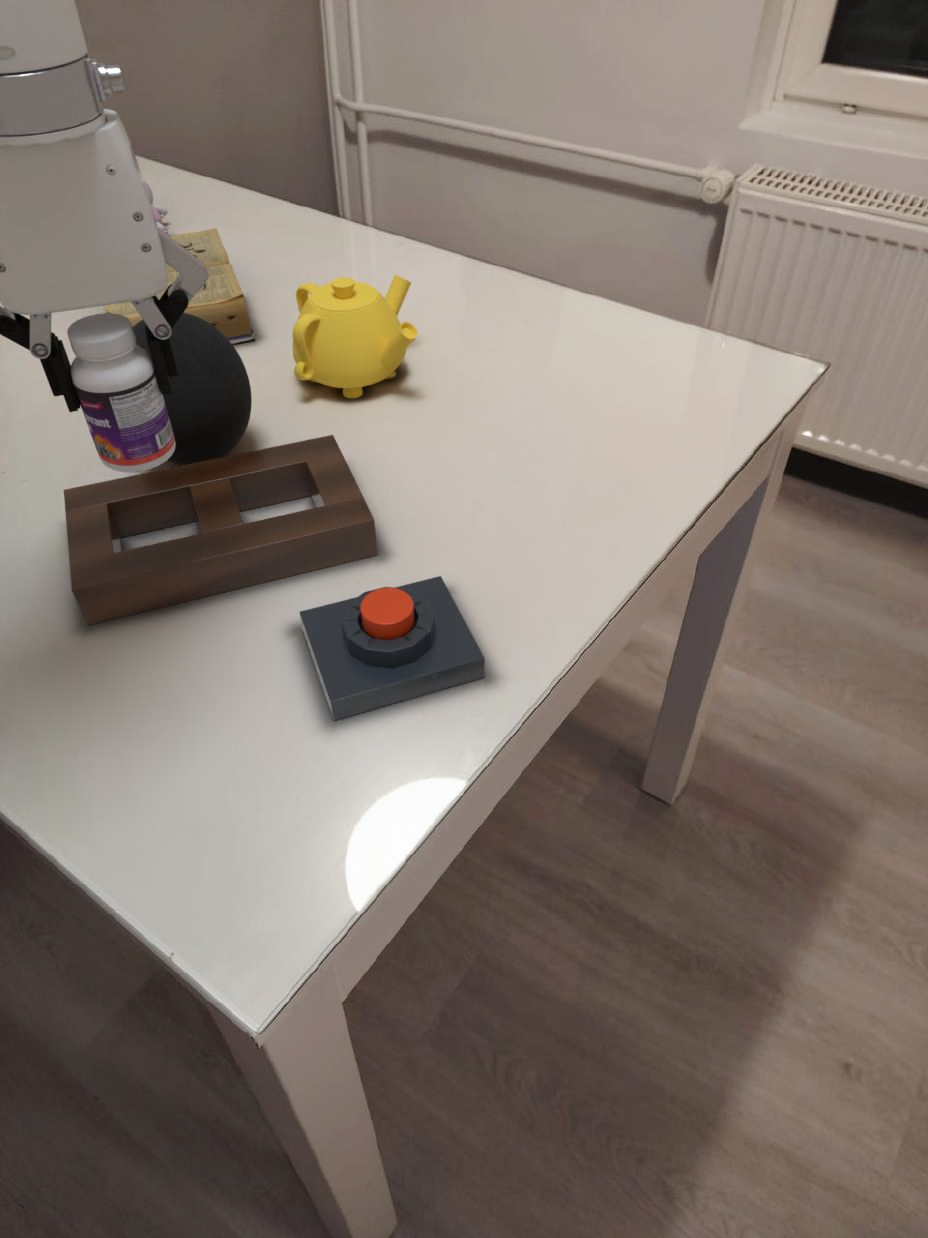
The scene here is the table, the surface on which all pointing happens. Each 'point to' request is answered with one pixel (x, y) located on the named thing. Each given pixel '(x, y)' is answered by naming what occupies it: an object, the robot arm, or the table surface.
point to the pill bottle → (119, 394)
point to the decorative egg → (204, 391)
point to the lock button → (387, 613)
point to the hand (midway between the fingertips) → (120, 391)
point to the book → (207, 289)
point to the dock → (213, 528)
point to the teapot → (350, 333)
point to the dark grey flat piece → (391, 651)
